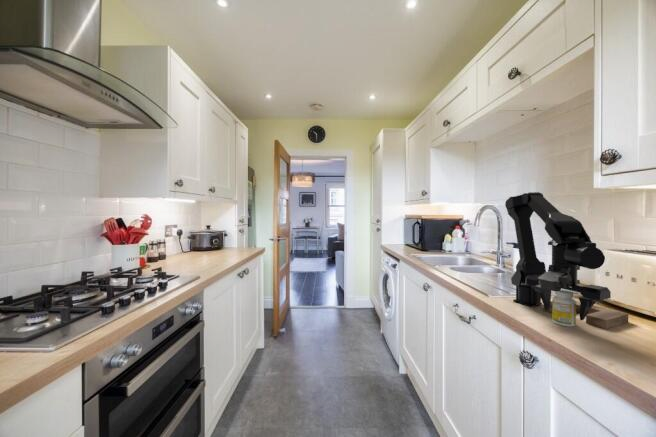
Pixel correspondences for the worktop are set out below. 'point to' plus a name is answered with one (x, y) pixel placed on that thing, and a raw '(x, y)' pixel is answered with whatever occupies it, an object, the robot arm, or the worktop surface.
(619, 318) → the notched board
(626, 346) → the worktop surface
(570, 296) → the supplement bottle
